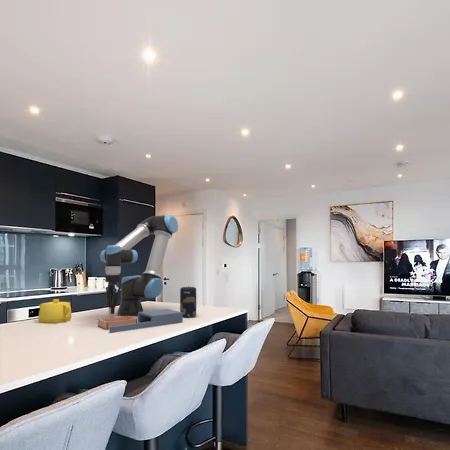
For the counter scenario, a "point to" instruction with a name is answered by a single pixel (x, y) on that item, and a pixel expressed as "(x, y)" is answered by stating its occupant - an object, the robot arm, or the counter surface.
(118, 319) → the dish
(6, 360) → the counter surface
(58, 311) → the teapot
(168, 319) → the blue-grey box with strip
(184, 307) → the canister
